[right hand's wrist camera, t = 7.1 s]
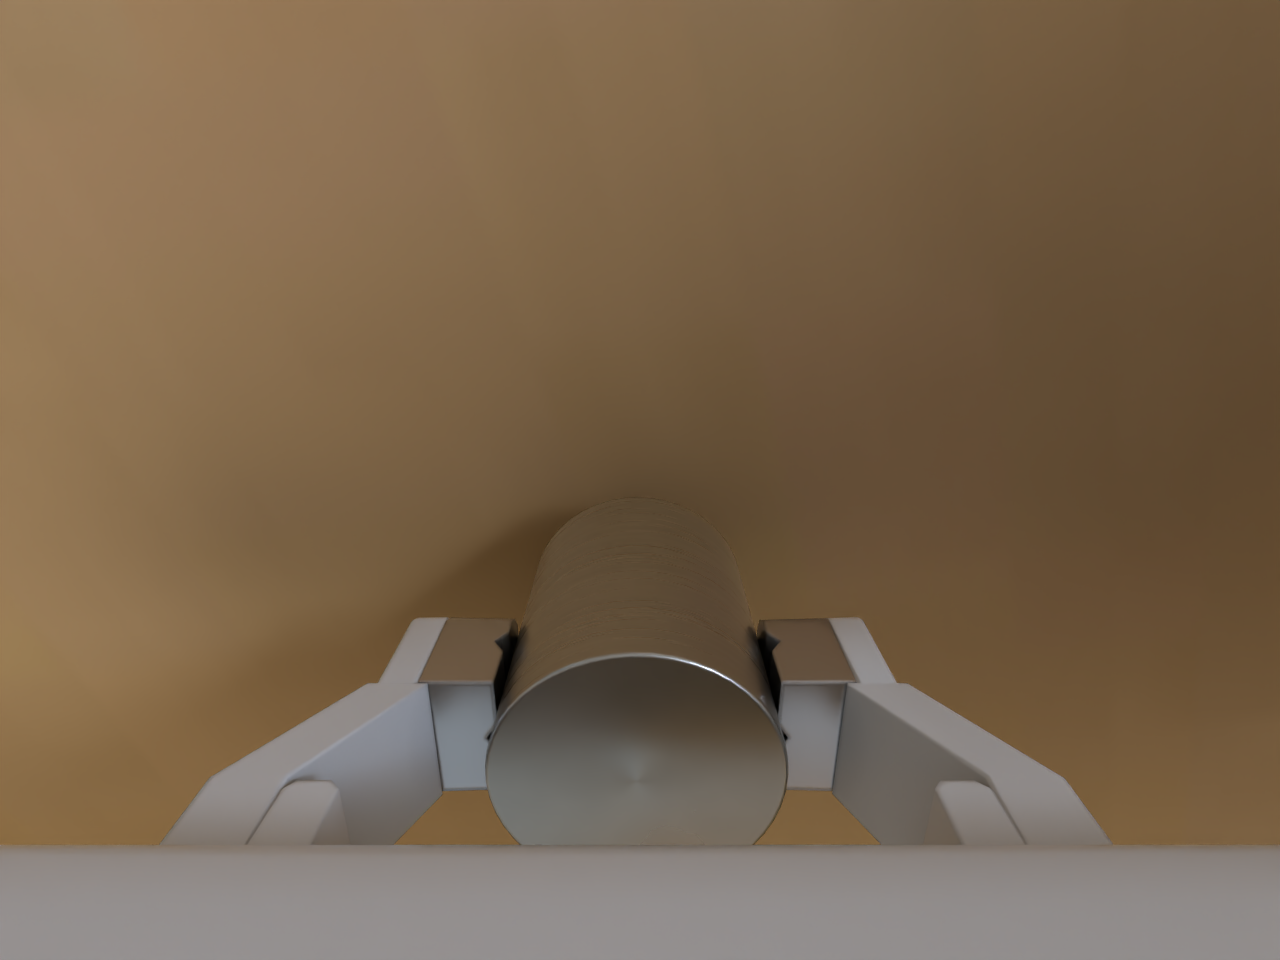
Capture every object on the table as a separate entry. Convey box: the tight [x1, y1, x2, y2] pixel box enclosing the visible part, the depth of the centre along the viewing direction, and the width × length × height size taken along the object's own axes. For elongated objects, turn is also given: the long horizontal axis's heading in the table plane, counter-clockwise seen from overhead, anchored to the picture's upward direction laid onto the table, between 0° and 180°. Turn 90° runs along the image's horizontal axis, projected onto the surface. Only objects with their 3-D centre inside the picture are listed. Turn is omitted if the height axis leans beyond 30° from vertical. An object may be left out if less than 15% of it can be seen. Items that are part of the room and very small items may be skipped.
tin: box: [485, 497, 789, 845], centre depth 10 cm, size 4×4×4 cm
